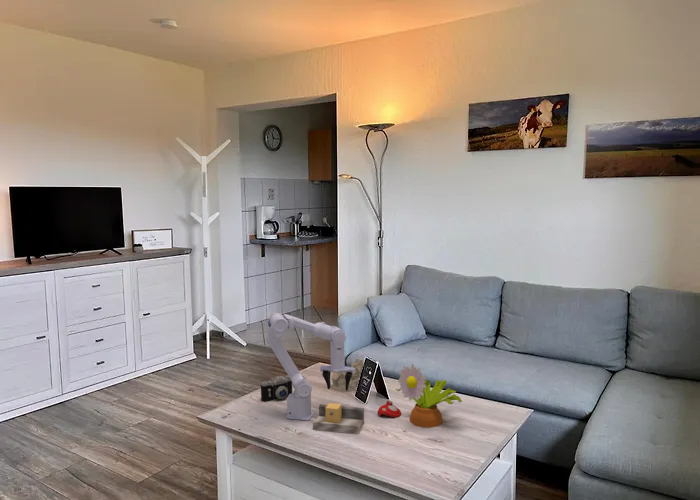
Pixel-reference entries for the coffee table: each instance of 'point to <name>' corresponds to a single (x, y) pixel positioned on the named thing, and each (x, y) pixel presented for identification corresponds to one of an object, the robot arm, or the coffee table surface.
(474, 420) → the coffee table surface
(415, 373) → the decorative plant
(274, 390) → the camera
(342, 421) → the board
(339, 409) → the cabinet block
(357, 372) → the rough stone chunk
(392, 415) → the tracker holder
